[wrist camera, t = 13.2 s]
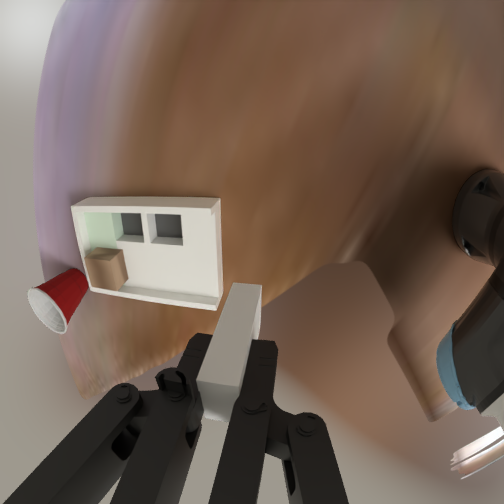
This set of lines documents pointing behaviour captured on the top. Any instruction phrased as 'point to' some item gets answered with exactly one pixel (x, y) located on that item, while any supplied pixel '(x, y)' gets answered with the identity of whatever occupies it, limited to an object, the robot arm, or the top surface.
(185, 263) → the box
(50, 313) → the plastic cup
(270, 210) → the top surface
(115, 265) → the walnut block
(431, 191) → the top surface
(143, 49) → the top surface
